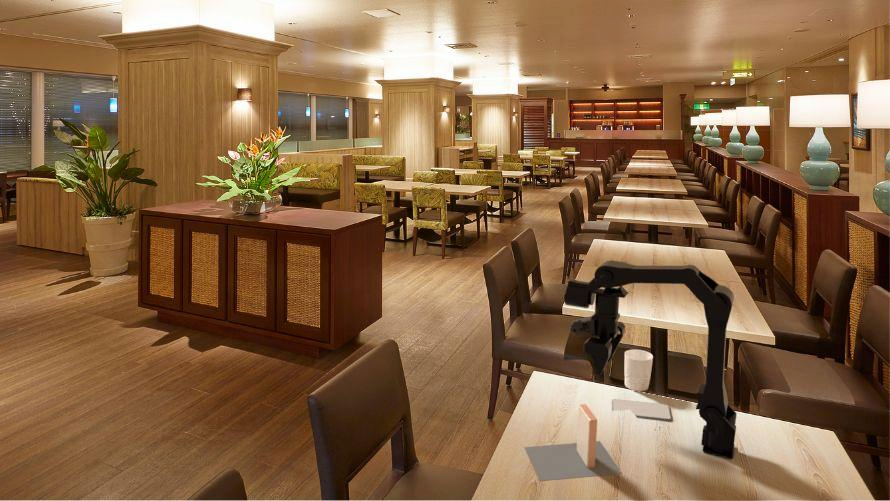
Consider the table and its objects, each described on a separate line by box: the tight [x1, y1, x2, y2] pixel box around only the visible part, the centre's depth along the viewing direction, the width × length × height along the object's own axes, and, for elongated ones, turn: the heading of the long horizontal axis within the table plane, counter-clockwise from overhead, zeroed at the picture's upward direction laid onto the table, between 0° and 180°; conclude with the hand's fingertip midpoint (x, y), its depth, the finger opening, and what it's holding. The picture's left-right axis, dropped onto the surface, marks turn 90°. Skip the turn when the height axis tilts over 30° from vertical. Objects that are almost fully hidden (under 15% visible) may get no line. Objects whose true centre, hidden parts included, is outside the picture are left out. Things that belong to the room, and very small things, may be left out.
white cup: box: [623, 348, 654, 392], centre depth 165 cm, size 8×8×10 cm
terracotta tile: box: [576, 403, 598, 468], centre depth 129 cm, size 2×7×12 cm, turn 7°
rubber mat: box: [524, 440, 623, 482], centre depth 130 cm, size 19×13×1 cm
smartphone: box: [611, 398, 673, 422], centre depth 153 cm, size 8×1×15 cm
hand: (603, 368), depth 145 cm, fingers open, 9 cm apart
